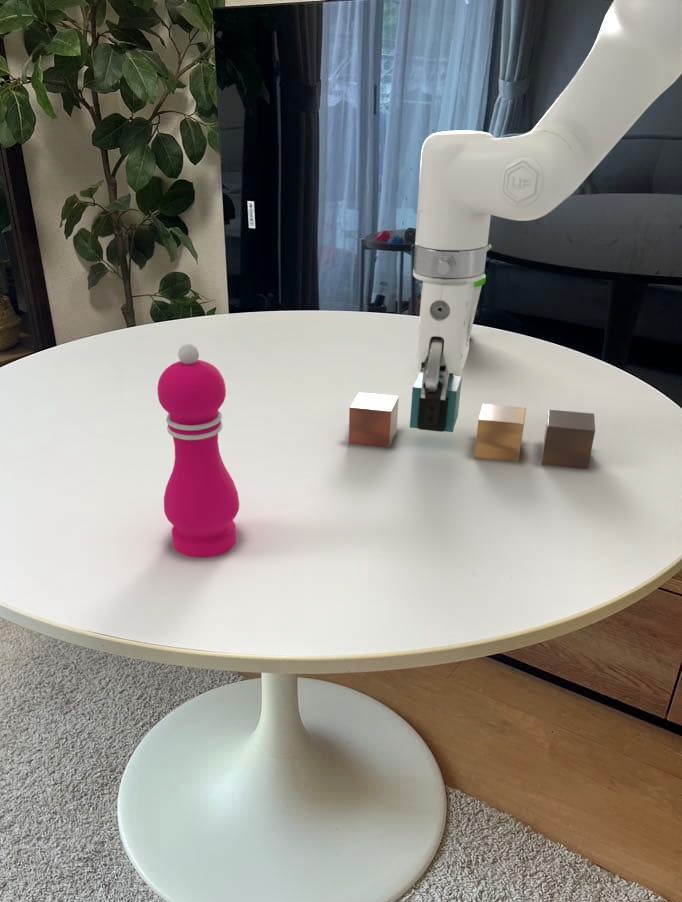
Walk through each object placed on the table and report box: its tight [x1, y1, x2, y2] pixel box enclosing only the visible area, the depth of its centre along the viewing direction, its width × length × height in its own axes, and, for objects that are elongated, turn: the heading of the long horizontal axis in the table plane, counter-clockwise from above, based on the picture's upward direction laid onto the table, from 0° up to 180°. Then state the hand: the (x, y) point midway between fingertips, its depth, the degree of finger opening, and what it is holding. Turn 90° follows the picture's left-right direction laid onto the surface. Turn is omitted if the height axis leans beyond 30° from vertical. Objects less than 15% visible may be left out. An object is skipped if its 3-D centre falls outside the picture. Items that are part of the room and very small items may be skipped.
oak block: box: [473, 403, 527, 463], centre depth 92 cm, size 5×5×5 cm
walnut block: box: [540, 409, 596, 470], centre depth 90 cm, size 5×5×5 cm
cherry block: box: [348, 392, 400, 449], centre depth 96 cm, size 5×5×5 cm
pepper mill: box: [157, 343, 240, 558], centre depth 73 cm, size 7×7×20 cm
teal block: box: [409, 372, 463, 433], centre depth 92 cm, size 5×5×5 cm
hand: (434, 418), depth 93 cm, fingers closed on teal block, 5 cm apart
